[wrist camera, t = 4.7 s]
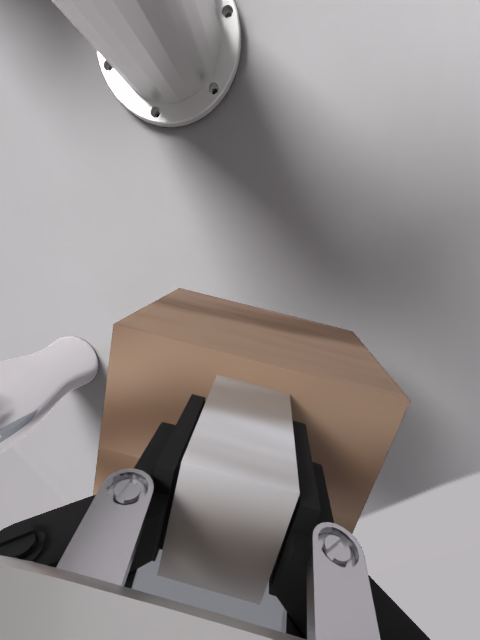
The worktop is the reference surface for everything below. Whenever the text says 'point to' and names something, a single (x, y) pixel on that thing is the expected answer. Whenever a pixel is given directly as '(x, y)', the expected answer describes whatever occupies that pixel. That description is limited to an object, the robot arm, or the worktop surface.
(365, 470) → the walnut cabinet
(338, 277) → the worktop surface
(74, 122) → the worktop surface
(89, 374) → the beer glass
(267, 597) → the wall board
